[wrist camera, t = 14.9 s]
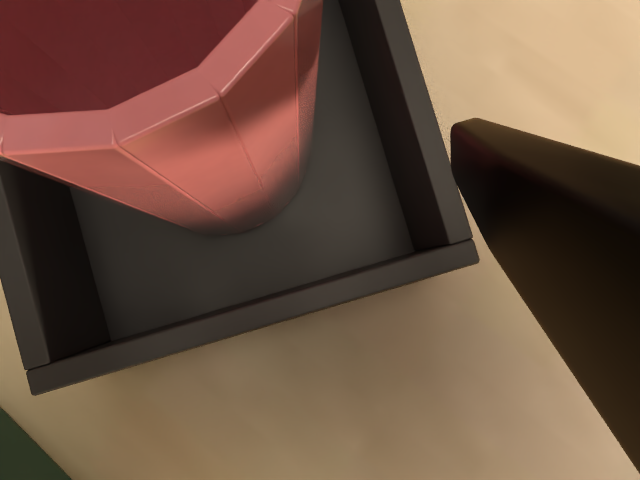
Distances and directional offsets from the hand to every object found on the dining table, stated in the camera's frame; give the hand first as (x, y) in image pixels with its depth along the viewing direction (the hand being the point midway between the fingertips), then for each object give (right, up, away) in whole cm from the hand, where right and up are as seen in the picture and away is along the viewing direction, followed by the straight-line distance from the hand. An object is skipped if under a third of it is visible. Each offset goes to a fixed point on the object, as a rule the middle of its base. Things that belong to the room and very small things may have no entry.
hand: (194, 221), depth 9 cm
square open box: (-1, +3, +11) cm, 11 cm away
